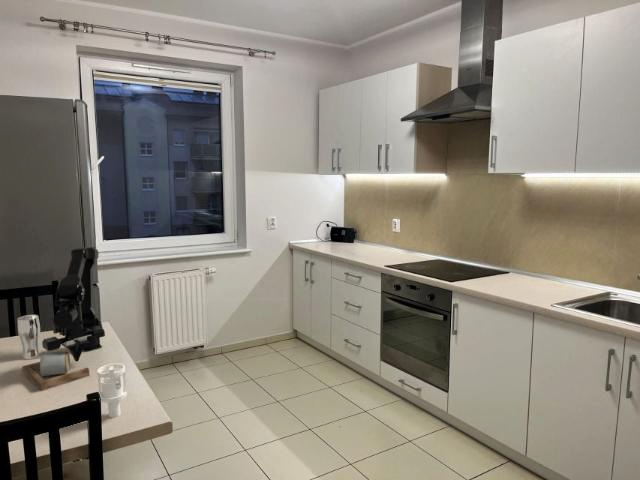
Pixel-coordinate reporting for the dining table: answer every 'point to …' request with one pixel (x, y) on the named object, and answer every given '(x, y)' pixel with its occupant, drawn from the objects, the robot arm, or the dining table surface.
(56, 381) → the walnut bay
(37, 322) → the beer glass
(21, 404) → the dining table surface
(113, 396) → the strainer
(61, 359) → the ceramic mug
